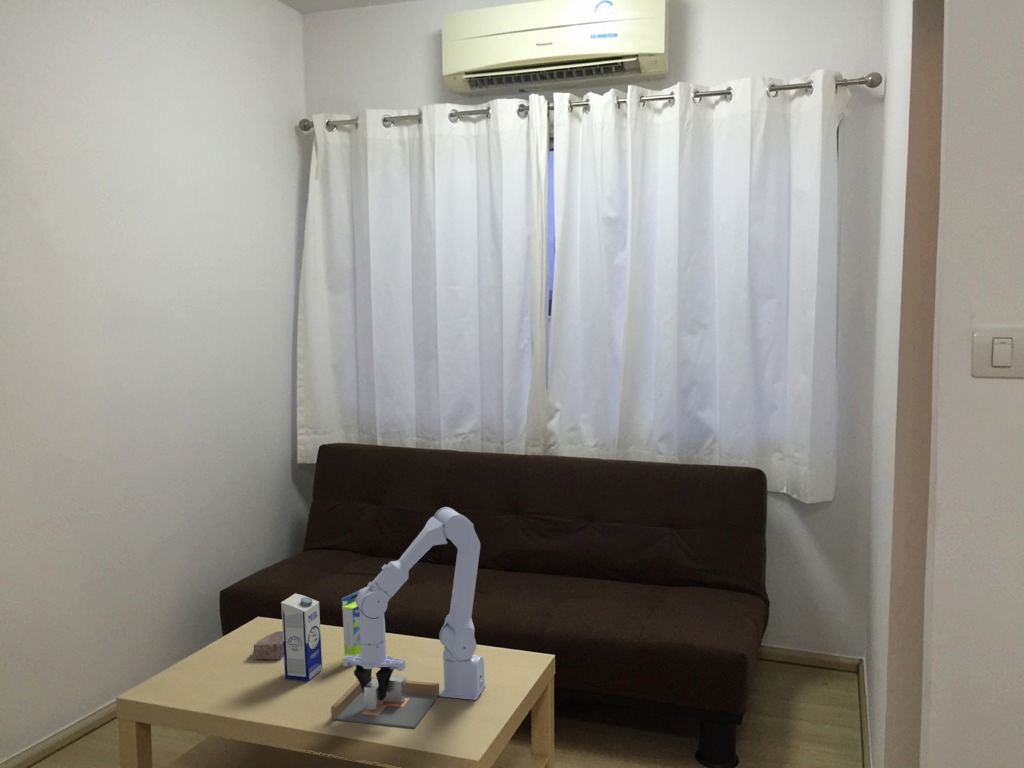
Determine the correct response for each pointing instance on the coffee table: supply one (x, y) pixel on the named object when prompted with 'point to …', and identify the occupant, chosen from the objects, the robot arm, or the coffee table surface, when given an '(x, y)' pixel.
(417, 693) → the arena
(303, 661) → the milk carton
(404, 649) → the coffee table surface
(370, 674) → the robot arm
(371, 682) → the l block
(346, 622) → the box
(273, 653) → the stone
